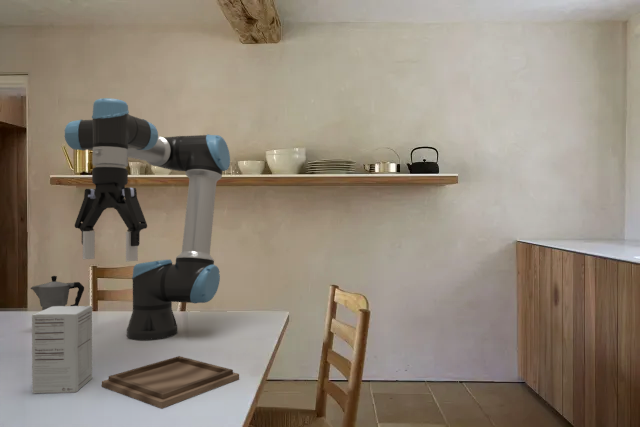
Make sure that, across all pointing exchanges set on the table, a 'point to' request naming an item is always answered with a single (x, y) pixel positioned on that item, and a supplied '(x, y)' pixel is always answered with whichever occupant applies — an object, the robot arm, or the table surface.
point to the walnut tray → (169, 381)
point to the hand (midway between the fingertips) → (109, 260)
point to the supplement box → (61, 349)
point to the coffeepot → (56, 293)
